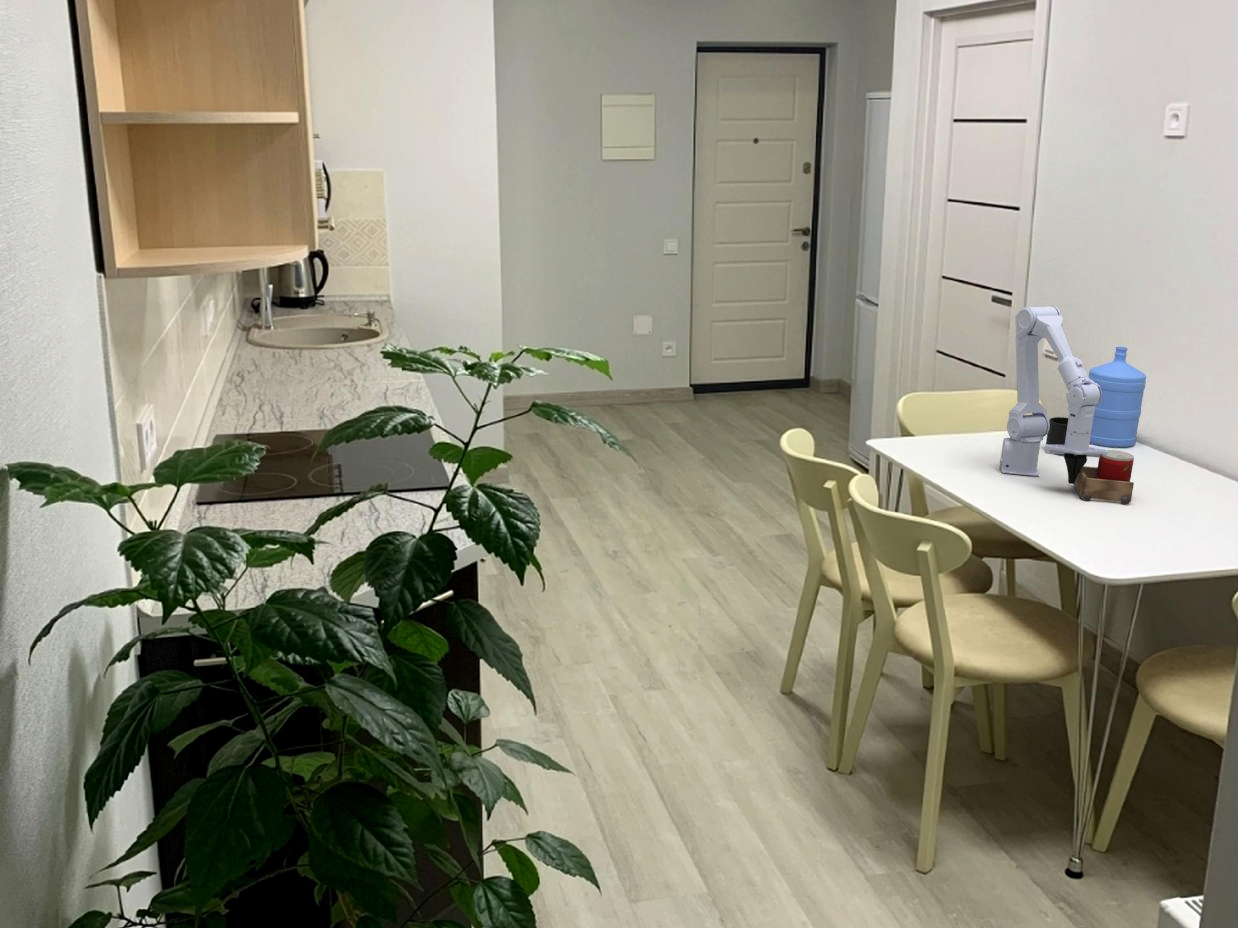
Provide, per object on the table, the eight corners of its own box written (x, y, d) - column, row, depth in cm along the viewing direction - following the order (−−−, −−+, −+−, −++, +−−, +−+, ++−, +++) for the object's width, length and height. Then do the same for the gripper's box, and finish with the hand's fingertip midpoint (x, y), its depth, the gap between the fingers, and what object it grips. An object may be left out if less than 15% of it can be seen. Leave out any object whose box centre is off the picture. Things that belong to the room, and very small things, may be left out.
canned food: (1124, 502, 295) (1131, 460, 292) (1090, 496, 299) (1097, 454, 296) (1129, 495, 302) (1136, 453, 298) (1096, 489, 306) (1103, 447, 302)
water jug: (1144, 449, 345) (1160, 354, 337) (1090, 447, 345) (1104, 352, 337) (1123, 435, 360) (1137, 343, 352) (1071, 433, 360) (1084, 341, 352)
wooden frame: (1080, 500, 296) (1084, 477, 294) (1073, 484, 308) (1076, 462, 307) (1131, 505, 293) (1134, 482, 292) (1121, 489, 306) (1125, 467, 304)
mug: (1068, 445, 346) (1072, 415, 344) (1085, 457, 335) (1090, 425, 332) (1036, 444, 346) (1040, 414, 343) (1052, 456, 334) (1057, 425, 332)
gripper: (1050, 432, 296) (1042, 484, 299) (1112, 437, 293) (1103, 490, 296) (1047, 425, 302) (1039, 476, 306) (1107, 430, 299) (1099, 482, 303)
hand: (1071, 482), depth 302 cm, fingers closed
